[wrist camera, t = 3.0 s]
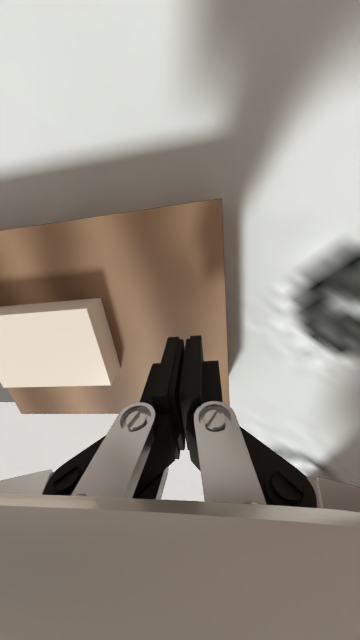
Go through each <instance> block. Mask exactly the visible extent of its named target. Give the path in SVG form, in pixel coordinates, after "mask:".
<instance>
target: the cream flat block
mask: <svg viewBox="0 0 360 640" xmlns="http://www.w3.org/2000/svg"><path fill="white" fill-rule="evenodd" d="M120 369H121V367H120V364H119V360H118V357H117V353H116V350H115V346H114V343H113V339H112V336H111V332H110V329H109V325H108V322H107V318H106V315H105V311H104V308H103V304H102V300H101V298H94V299H82V300H71V301H59V302H48V303H36V304H25V305H13V306H2V307H0V383H1V384H2V386H3V388H14V387H59V386H104V385H111V384H112V383H113V381H114V379H115V377H116V376H117V374H118V372H119V370H120Z"/></svg>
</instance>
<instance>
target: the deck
mask: <svg viewBox="0 0 360 640" xmlns="http://www.w3.org/2000/svg"><path fill="white" fill-rule="evenodd" d="M94 298H101V300H102V304H103V308H104V311H105V315H106V318H107V322H108V325H109V329H110V332H111V336H112V339H113V343H114V346H115V350H116V353H117V357H118V360H119V364H120V367H121V369H120V370H119V372H118V374H117V376H116V377H115V379H114V381H113V383H112V384H111V385H104V386H59V387H14V388H7V389H8V391H9V393H10V394H11V396H12V398H13V400H14V401H15V403H16V405H17V407H18V408H19V410H20V412H21V414H120V412H121V411H122V410H123V409H124V408H126V407H127V406H129V405H131V404H134V403H139V402H140V399H141V396H142V393H143V390H144V387H145V384H146V381H147V378H148V375H149V372H150V369H151V366H152V364H153V363H161V360H162V356H163V353H164V349H165V346H166V342H167V338H168V337H179V338H180V339H183V340H184V347H185V344H186V339H190V336H196V335H201V337H202V347H203V358H204V361H219V370H220V380H221V389H222V399H223V403H225V404H227V405H228V406H230V404H229V378H228V352H227V326H226V300H225V274H224V248H223V222H222V198H220V199H213V200H207V201H200V202H193V203H186V204H179V205H172V206H166V207H159V208H152V209H145V210H138V211H132V212H125V213H118V214H111V215H104V216H98V217H91V218H84V219H77V220H70V221H63V222H57V223H50V224H43V225H36V226H29V227H23V228H16V229H9V230H2V231H0V307H2V306H13V305H25V304H36V303H48V302H59V301H71V300H82V299H94Z"/></svg>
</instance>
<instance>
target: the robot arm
mask: <svg viewBox="0 0 360 640" xmlns="http://www.w3.org/2000/svg"><path fill="white" fill-rule="evenodd" d="M185 438H186V442H187V448H188V450H189V451H190V457H191V461H192V462H193V464H194V465H195V466H196V467H197V468H198V469H199V470H200V471H201V477H202V485H203V492H204V500H205V502H199V501H178V500H161V497H162V493H163V489H164V486H165V482H166V478H167V475H168V466H169V465H170V464H171V463H173V462H174V461H175V459H179V455H180V450H184V449H185ZM0 640H360V487H357V486H353V485H349V484H345V483H341V482H337V481H333V480H329V479H325V478H321V477H317V480H315V479H311V478H307V477H306V476H305V475H304V474H302V473H301V472H300V471H299V470H298V469H297V468H295V467H294V466H293V465H291V464H290V463H289V462H287V461H286V460H285V459H283V458H282V457H280V456H279V455H278V454H276V453H275V452H274V451H272V450H271V449H270V448H268V447H267V446H266V445H264V444H263V443H262V442H260V441H259V440H258V439H256V438H255V437H254V436H252V435H251V434H249V433H248V432H247V431H245V430H244V429H243V428H241V427H240V426H239V423H238V421H237V418H236V415H235V413H234V411H233V409H232V408H231V407H230V406H228V405H227V404H225V403H223V399H222V389H221V380H220V370H219V361H204V358H203V347H202V337H201V335H196V336H190V339H186V344H185V347H184V340H183V339H180V338H179V337H168V338H167V342H166V346H165V349H164V353H163V356H162V360H161V363H153V364H152V366H151V369H150V372H149V375H148V378H147V381H146V384H145V387H144V390H143V393H142V396H141V399H140V402H139V403H134V404H131V405H129V406H127V407H126V408H124V409H123V410H122V411H121V412H120V414H119V415H118V416H117V418H116V420H115V421H114V423H113V425H112V427H111V428H110V430H109V432H108V433H107V435H106V436H104V437H103V438H101V439H100V440H98V441H97V442H95V443H94V444H93V445H91V446H90V447H88V448H87V449H85V450H84V451H82V452H81V453H79V454H78V455H76V456H75V457H73V458H72V459H70V460H69V461H68V462H66V463H65V464H63V465H62V466H61V467H60V468H58V469H57V470H56V471H55V472H53V471H52V470H51V469H50V470H46V471H41V472H37V473H32V474H28V475H23V476H19V477H14V478H10V479H5V480H1V481H0Z"/></svg>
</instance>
